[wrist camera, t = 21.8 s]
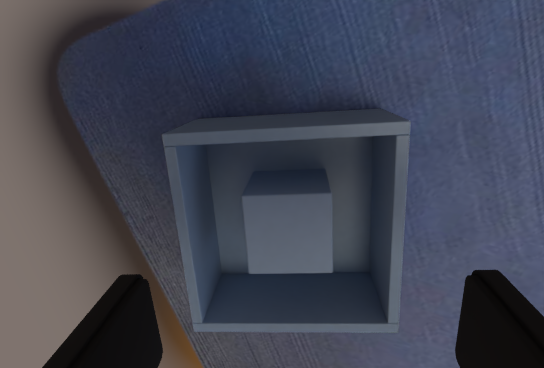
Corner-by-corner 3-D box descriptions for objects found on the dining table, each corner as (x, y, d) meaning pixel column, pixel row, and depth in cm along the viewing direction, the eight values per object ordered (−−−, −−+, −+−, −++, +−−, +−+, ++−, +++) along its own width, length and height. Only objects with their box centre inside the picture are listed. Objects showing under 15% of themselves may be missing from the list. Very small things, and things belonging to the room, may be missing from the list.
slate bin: (196, 118, 21) (160, 134, 16) (381, 108, 20) (411, 120, 15) (216, 276, 24) (193, 332, 19) (376, 274, 23) (398, 333, 18)
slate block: (252, 171, 21) (240, 196, 17) (325, 168, 21) (332, 192, 16) (258, 236, 23) (248, 274, 18) (326, 235, 22) (333, 273, 18)
